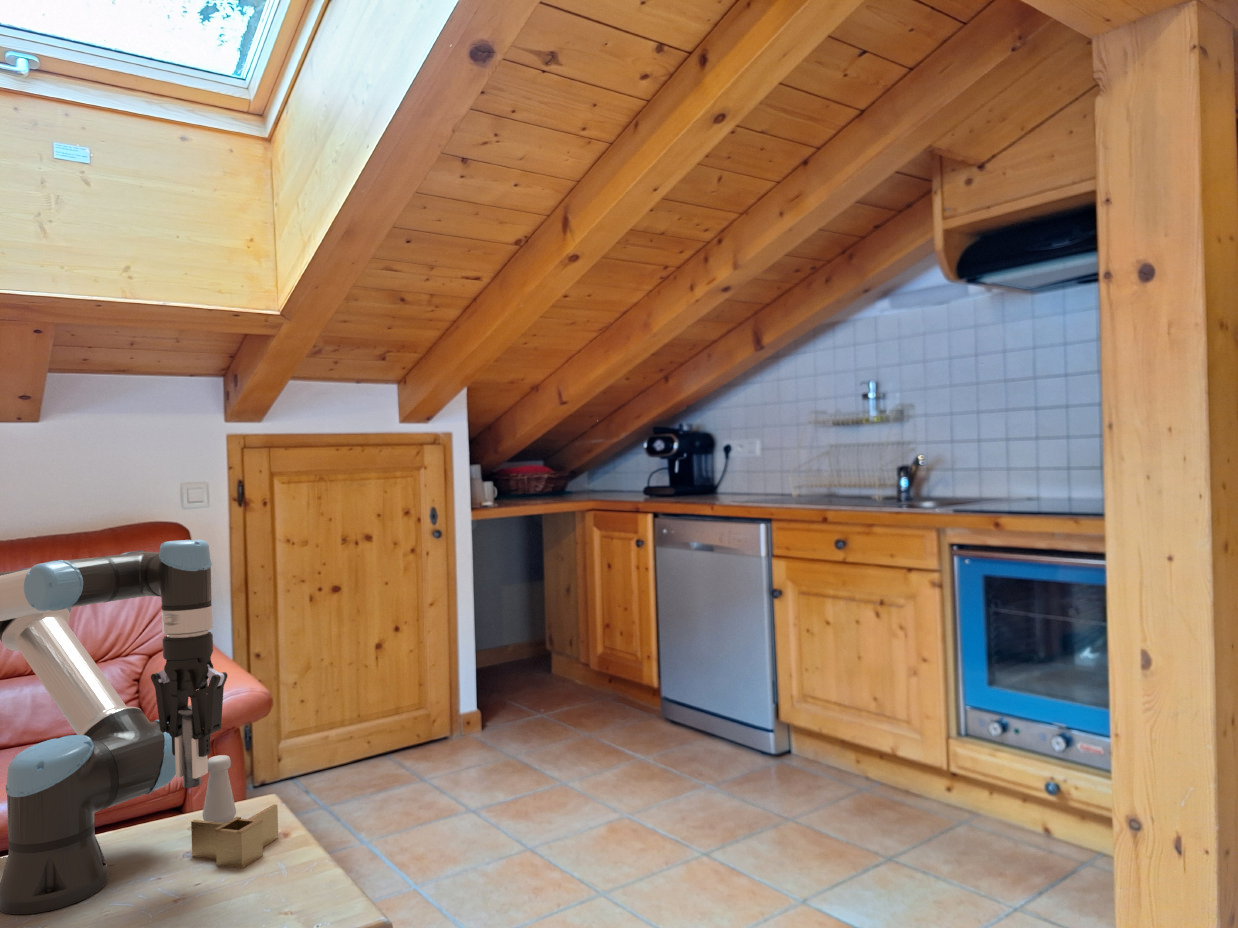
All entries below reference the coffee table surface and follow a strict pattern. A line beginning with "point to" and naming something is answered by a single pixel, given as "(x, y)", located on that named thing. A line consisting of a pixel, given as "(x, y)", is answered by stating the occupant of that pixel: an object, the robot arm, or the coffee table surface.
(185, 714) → the hinge pin
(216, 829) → the hinge
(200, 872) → the coffee table surface
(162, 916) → the coffee table surface
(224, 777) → the salt shaker
